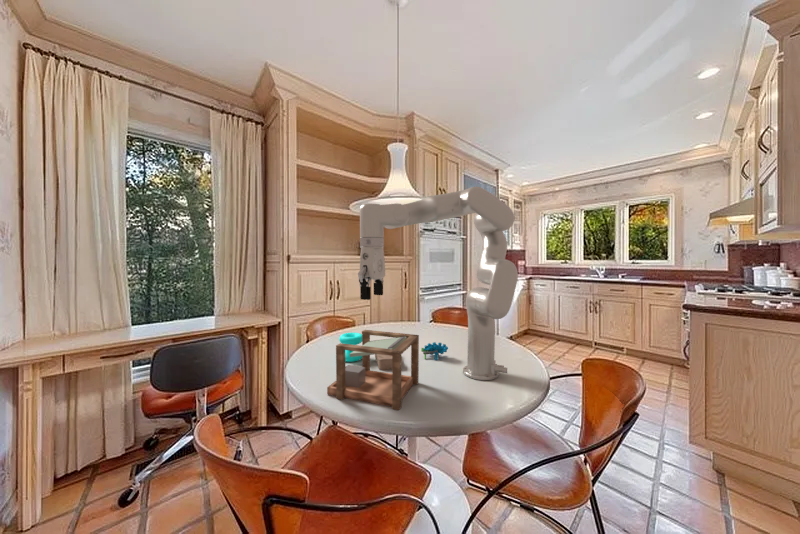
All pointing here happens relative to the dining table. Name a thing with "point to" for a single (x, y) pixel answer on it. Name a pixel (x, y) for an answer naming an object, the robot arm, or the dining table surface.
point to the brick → (384, 361)
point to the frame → (378, 384)
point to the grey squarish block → (354, 375)
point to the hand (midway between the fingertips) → (372, 297)
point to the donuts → (353, 340)
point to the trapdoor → (380, 345)
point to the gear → (434, 349)
